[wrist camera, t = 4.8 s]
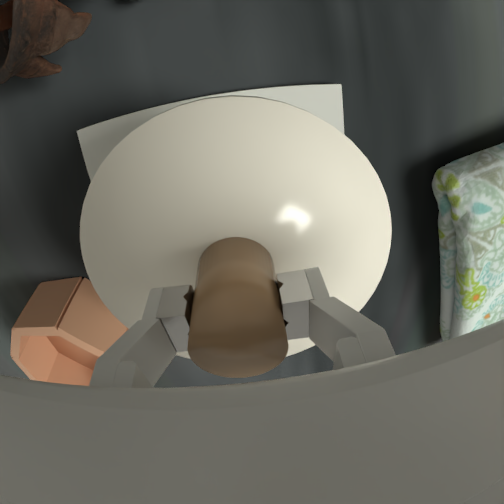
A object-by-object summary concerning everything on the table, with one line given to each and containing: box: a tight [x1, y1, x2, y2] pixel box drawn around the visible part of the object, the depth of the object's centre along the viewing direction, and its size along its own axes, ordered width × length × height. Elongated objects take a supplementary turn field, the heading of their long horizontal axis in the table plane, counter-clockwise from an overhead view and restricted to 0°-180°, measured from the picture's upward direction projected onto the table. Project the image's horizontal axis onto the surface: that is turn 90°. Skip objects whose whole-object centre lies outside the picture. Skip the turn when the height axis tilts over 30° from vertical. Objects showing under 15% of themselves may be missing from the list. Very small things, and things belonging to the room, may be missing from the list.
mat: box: [77, 84, 344, 181], centre depth 17 cm, size 14×14×1 cm
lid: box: [80, 95, 392, 378], centre depth 11 cm, size 13×13×5 cm
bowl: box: [11, 277, 128, 386], centre depth 20 cm, size 11×11×5 cm
